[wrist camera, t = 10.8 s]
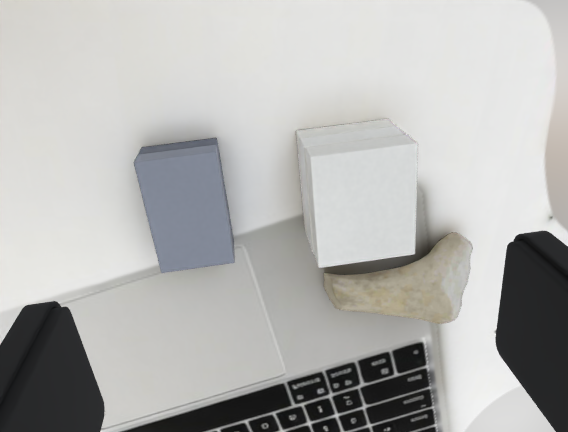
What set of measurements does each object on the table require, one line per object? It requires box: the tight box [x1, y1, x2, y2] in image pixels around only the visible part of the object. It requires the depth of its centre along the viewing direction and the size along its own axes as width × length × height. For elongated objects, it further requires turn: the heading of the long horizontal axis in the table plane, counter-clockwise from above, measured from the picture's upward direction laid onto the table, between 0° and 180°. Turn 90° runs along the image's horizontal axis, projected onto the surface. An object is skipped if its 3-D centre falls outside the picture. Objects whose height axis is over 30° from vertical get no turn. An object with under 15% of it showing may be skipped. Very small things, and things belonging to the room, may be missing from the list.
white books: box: [296, 119, 406, 253], centre depth 33 cm, size 8×6×4 cm
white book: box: [306, 135, 418, 268], centre depth 30 cm, size 8×6×2 cm
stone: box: [324, 232, 473, 324], centre depth 36 cm, size 11×6×5 cm, turn 106°
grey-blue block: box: [134, 138, 235, 273], centre depth 32 cm, size 8×5×3 cm, turn 5°
